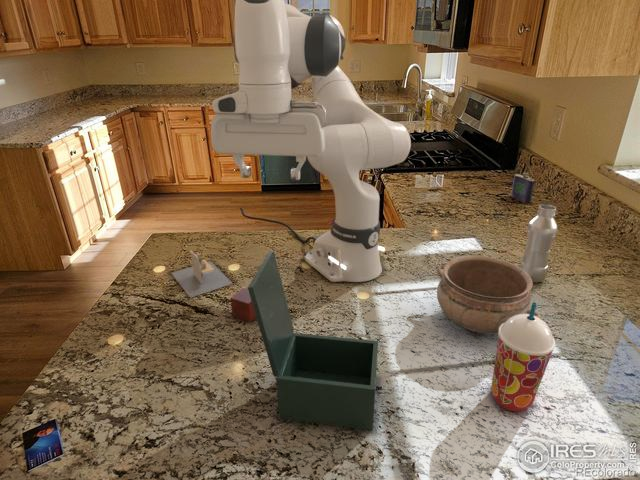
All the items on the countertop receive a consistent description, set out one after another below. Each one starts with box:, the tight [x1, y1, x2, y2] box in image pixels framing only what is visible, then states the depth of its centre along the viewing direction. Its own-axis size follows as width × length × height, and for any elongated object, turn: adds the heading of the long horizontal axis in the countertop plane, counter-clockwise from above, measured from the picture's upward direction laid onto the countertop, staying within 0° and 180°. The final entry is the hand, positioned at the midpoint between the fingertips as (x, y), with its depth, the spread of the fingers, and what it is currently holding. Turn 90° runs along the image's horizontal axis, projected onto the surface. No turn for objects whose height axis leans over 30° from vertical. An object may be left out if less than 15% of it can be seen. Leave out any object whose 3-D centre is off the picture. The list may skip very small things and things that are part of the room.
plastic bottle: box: [518, 204, 558, 283], centre depth 106 cm, size 6×7×20 cm
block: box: [230, 287, 257, 323], centre depth 97 cm, size 5×5×5 cm
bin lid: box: [247, 250, 295, 377], centre depth 69 cm, size 16×12×1 cm
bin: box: [275, 332, 379, 431], centre depth 73 cm, size 16×12×9 cm
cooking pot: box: [436, 255, 542, 335], centre depth 91 cm, size 25×19×12 cm
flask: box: [509, 172, 535, 205], centre depth 160 cm, size 9×3×11 cm, turn 21°
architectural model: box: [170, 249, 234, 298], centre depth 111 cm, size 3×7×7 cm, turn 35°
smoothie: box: [490, 301, 556, 413], centre depth 70 cm, size 8×8×20 cm
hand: (270, 178), depth 79 cm, fingers open, 8 cm apart
